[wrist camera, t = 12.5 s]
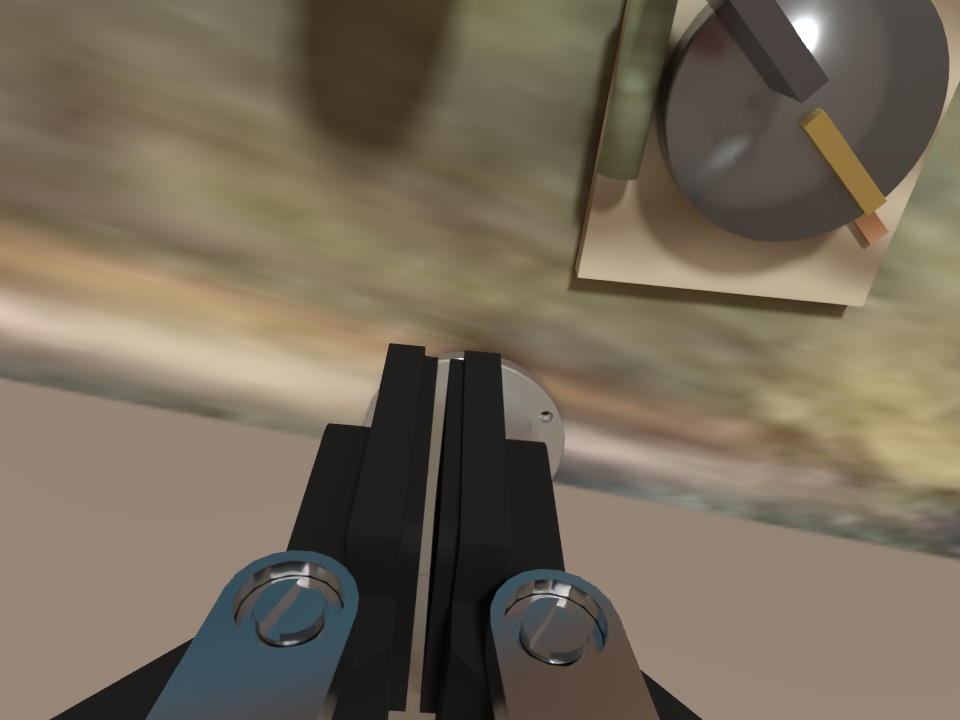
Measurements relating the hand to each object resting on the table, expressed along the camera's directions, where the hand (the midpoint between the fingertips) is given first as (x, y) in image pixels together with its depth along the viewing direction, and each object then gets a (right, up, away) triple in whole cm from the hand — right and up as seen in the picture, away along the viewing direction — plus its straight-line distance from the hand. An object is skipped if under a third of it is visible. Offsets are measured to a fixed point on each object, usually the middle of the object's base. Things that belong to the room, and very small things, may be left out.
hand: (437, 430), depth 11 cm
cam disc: (+14, +13, +22) cm, 29 cm away
